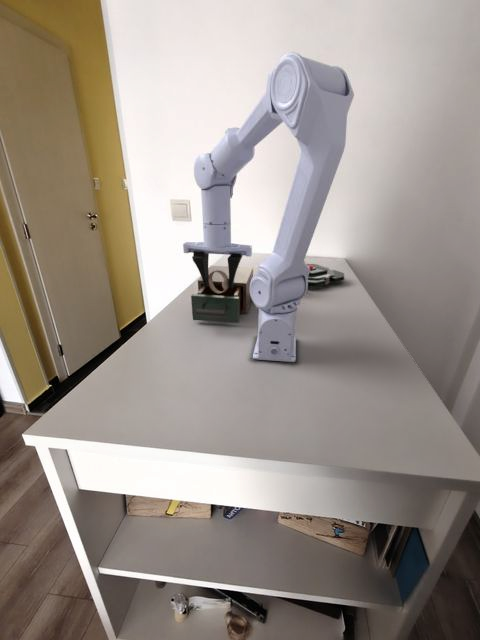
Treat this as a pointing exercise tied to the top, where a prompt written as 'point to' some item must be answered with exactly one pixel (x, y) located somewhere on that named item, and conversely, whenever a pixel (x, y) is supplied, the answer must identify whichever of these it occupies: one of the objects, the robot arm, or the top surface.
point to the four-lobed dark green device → (322, 275)
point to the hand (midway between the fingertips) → (219, 286)
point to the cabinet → (241, 279)
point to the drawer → (217, 304)
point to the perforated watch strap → (224, 284)
